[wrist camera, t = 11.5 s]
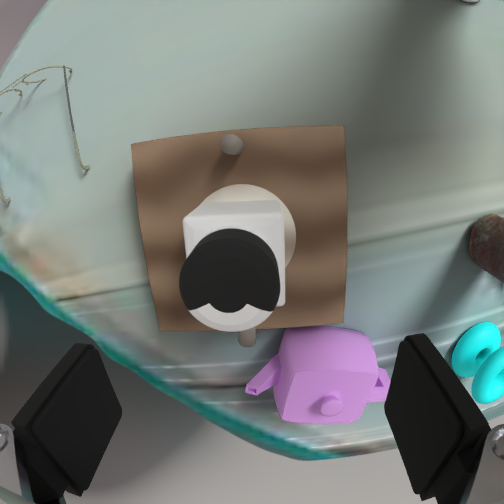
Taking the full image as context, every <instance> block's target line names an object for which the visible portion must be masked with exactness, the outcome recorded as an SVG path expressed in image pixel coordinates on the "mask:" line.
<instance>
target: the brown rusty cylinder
mask: <svg viewBox="0 0 504 504" xmlns="http://www.w3.org/2000/svg"><path fill="white" fill-rule="evenodd" d="M469 253H470V256H471V258H472V260H473V261H474V263H475V264H477V265H478V266H479V267H481V268H482V269H484V270H485V271H487V272H488V273H490V274H491V275H493V276H494V277H496V278H497V279H499V280H500V281H502V282H503V283H504V218H502V217H499V216H497V215H494V214H489V215H486V216H484V217H482V218H480V219H479V220H478V221H477V222H476V223H475V224H474V227H473V228H472V231H471V237H470V243H469Z"/></svg>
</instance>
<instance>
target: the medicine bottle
mask: <svg viewBox="0 0 504 504" xmlns="http://www.w3.org/2000/svg"><path fill="white" fill-rule="evenodd" d="M183 231H184V241H185V250H186V260H185V262H184V264H183V266H182V268H181V272H180V276H179V289H180V294H181V298H182V300H183V302H184V304H185V306H186V308H187V309H188V311H189V312H190V313H191V314H192V315H193V316H194V317H195V318H196V319H197V320H199V321H200V322H201V323H203V324H205V325H206V326H208V327H211V328H213V329H216V330H220V331H227V332H237V331H244V330H248V329H250V328H253V327H255V326H257V325H259V324H260V323H262V322H263V321H265V320H266V319H267V318H268V317H269V316H270V314H271V313H272V312H273V311H274V309H275V307H276V306H283V305H284V304H285V237H284V215H283V213H282V210H281V207H280V204H279V202H278V201H277V200H253V201H231V202H213V203H202V204H201V205H199V206H198V207H197V208H196V209H194V210H193V211H192V212H191V213H189V214H188V215H187V216H186V217H184V219H183Z"/></svg>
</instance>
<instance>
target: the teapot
mask: <svg viewBox="0 0 504 504" xmlns="http://www.w3.org/2000/svg"><path fill="white" fill-rule="evenodd" d="M390 382H391V381H390V378H389V376H388V373H387V371H386V370H385V369H382V368H379V367H378V365H377V359H376V355H375V352H374V349H373V346H372V344H371V341H370V339H369V338H368V337H367V336H366V335H365V334H364V333H362V332H360V331H356V330H351V329H345V328H339V327H331V326H303V327H289V328H286V329H285V331H284V334H283V337H282V341H281V344H280V348H279V352H278V354H276V355H275V356H274V357H273V358H272V359H271V360H270V361H269V362H268V363H267V364H266V365H265V366H264V367H263V368H262V369H261V370H260V371H259V372H258V373H257V374H256V375H255V376H254V377H253V378H252V379H251V380H250V381H249V382H248V383H247V385H246V390H245V393H249V394H253V395H257V396H258V394H260V393H261V392H263V391H265V390H267V389H268V388H270V387H272V386H273V391H274V398H275V402H276V406H277V409H278V412H279V415H280V418H281V419H282V420H285V421H289V422H296V423H308V424H339V423H350V422H354V421H357V420H358V419H359V417H360V415H361V414H362V412H363V410H364V408H365V406H366V404H367V403H370V402H385V401H386V397H387V394H388V390H389V386H390Z"/></svg>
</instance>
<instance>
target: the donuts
mask: <svg viewBox="0 0 504 504" xmlns="http://www.w3.org/2000/svg"><path fill="white" fill-rule="evenodd" d="M500 342H501V336H500V332H499V329H498V328H497V326H495V325H494V324H493V323H490V322H483V323H479V324H477V325H475V326H473V327H472V328H470V329H469V330H468V331H467V332H466V333H465V334H464V335H463V336H462V337H461V338H460V340H459V341H458V343H457V345H456V347H455V349H454V351H453V354H452V368H453V370H454V372H455V373H456V374H457V375H459V376H461V377H472V376H475V377H474V379H473V382H472V396H473V398H474V399H475V401H477V402H478V403H481V404H487V403H491V402H494V401H496V400H497V399H499V398H500V397H502V396H503V395H504V346H503V347H501V348H499V347H500Z"/></svg>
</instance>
